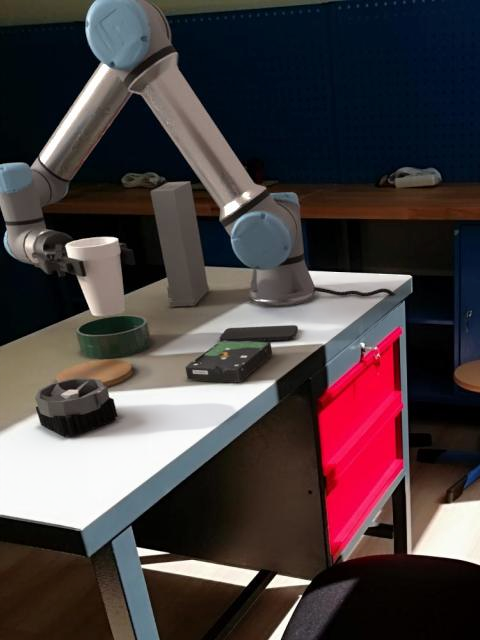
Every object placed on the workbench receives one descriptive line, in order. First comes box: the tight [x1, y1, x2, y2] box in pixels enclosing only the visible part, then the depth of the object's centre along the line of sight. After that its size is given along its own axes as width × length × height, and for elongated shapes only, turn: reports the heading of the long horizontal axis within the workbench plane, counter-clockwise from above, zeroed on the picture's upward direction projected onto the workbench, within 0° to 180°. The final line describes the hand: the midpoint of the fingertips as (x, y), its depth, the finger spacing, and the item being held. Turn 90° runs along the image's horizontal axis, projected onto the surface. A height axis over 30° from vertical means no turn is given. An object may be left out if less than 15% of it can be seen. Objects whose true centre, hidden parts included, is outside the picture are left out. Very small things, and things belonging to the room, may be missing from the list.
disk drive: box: [184, 340, 273, 383], centre depth 137 cm, size 10×3×15 cm
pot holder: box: [55, 359, 133, 388], centre depth 137 cm, size 13×13×1 cm
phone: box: [219, 324, 299, 343], centre depth 153 cm, size 7×1×15 cm
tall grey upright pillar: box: [150, 180, 210, 308], centre depth 175 cm, size 14×6×25 cm, turn 178°
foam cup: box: [66, 236, 126, 317], centre depth 145 cm, size 10×9×13 cm
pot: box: [75, 314, 152, 360], centre depth 150 cm, size 13×13×4 cm
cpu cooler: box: [34, 378, 118, 438], centre depth 118 cm, size 10×6×10 cm
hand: (108, 263), depth 140 cm, fingers closed on foam cup, 9 cm apart
